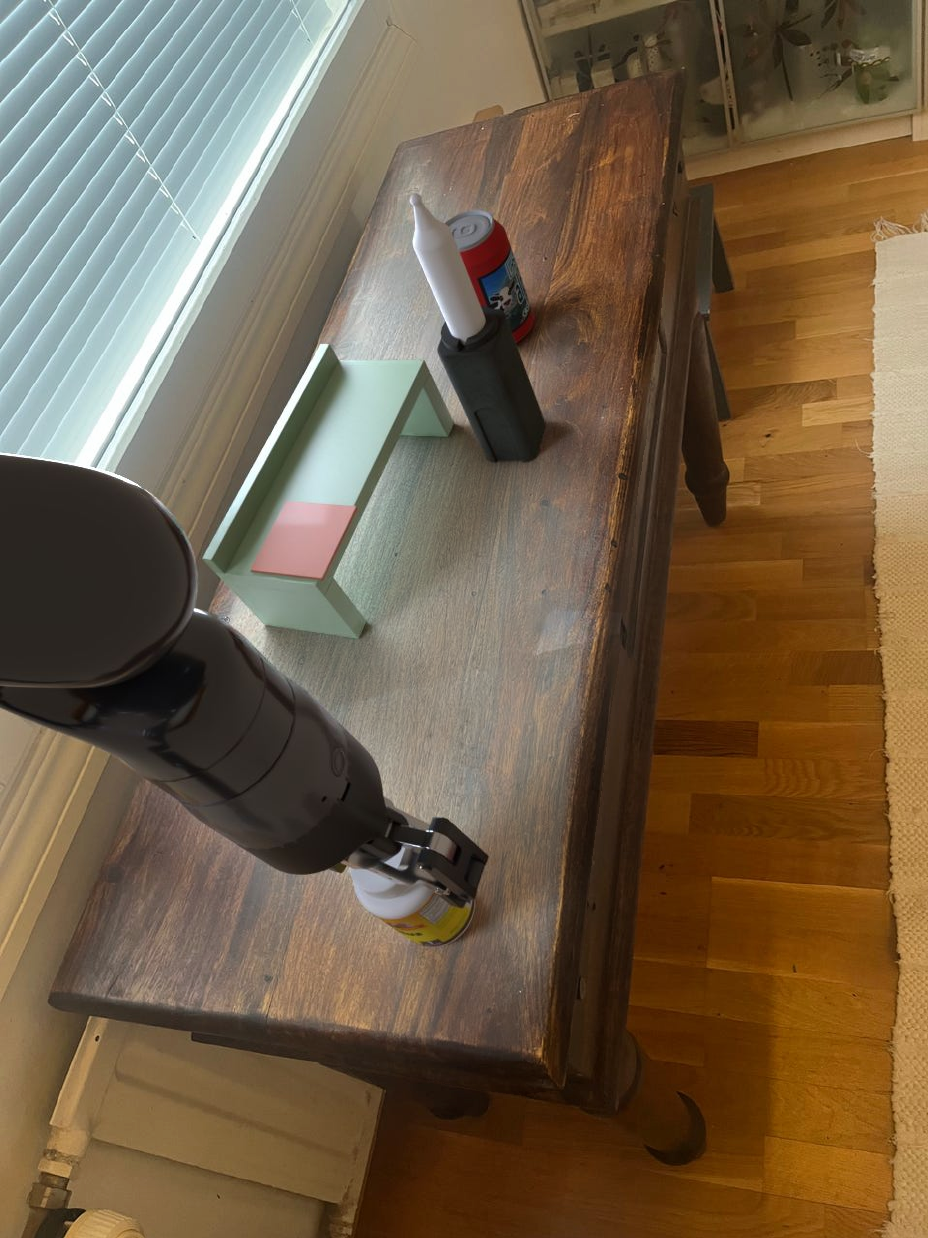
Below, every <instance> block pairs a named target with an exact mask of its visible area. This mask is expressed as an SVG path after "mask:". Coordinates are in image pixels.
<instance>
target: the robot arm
mask: <svg viewBox="0 0 928 1238" xmlns="http://www.w3.org/2000/svg"><path fill="white" fill-rule="evenodd" d="M196 560H197V559H196V556H195V553H194V549H193V547H192V544H191V542H190V539H189V537H188V535H187V533H186V532H185V529H184V528H183V527H182V525H181V524H180V522H179V521H178V519H177V518H176V517H175V516H174V514H173V513H172V512H171V510H169V508H168V507H167V506H166V505H165V504H164V503H163V502H162V501H160V499H159V498H157V497H156V496H154V494H152V493H151V492H149V491H148V490H147V489H145V488H143V487H142V486H140V485H139V484H137V483H135V482H133V481H132V480H129V479H127V478H126V477H123V476H121V475H117V474H115V473H113V472H109V471H106V470H102V469H99V468H95V467H91V466H86V465H82V464H77V463H71V462H64V461H60V460H54V459H53V460H52V459H46V458H40V457H33V456H27V455H19V454H11V453H2V452H0V709H1V710H4V711H6V712H8V713H11V714H13V715H15V716H18V717H20V718H23V719H25V720H28V721H30V722H32V723H35V724H37V725H39V726H42V727H44V728H47V729H49V730H52V731H54V732H57V733H59V734H63V735H66V736H68V737H71V738H73V739H75V740H78V741H80V742H83V743H86V744H88V745H90V746H92V747H93V748H96V749H98V750H101V751H103V752H105V753H107V754H109V755H111V756H112V757H114V758H115V759H116V760H118V761H119V762H120V763H121V764H122V765H124V766H125V767H127V768H128V769H130V770H131V771H132V772H133V773H135V774H137V775H138V776H140V777H142V778H143V779H145V780H146V781H148V782H150V783H151V784H152V785H154V786H156V787H157V788H158V789H160V790H162V791H163V792H165V793H167V794H168V795H170V797H173V798H174V799H175V800H177V802H178V803H180V804H181V805H182V806H183V807H184V809H186V810H187V811H188V813H190V814H191V815H192V816H193V817H194V818H196V819H197V820H198V821H199V822H201V823H202V824H203V825H205V826H207V827H208V828H210V829H211V830H212V831H214V832H216V833H217V834H219V835H221V836H222V837H223V838H225V839H227V840H229V841H230V842H231V843H233V844H235V845H237V846H238V847H240V848H241V849H243V850H244V851H245V852H248V853H249V854H251V855H252V856H254V857H255V858H257V859H259V860H261V861H262V862H263V863H264V864H266V865H268V866H270V867H271V868H273V869H275V870H276V871H279V872H282V873H285V874H288V875H295V876H307V875H314V874H318V873H322V872H325V871H327V870H330V871H331V872H334V873H338V874H343V873H344V872H345V870H346V869H347V867H348V868H349V867H351V868H353V869H366V870H368V871H371V872H373V873H375V874H377V875H379V876H381V877H383V878H386V879H388V880H390V881H392V882H394V883H396V884H399V885H413V884H415V883H418V884H421V885H423V886H425V887H427V888H429V889H431V890H433V891H434V893H436V894H437V895H439V896H440V897H441V898H442V899H444V900H445V901H446V902H447V903H448V904H450V905H451V906H455V907H458V908H463V907H464V906H465V904H466V902H468V903H470V902H471V900H475V901H476V897H477V894H478V888H479V885H480V882H481V879H482V876H483V874H484V870H485V867H486V866H487V863H488V860H489V858H490V856H489V855H488V853H486V852H485V851H484V850H483V849H482V848H481V847H480V846H479V845H477V843H476V842H474V840H472V839H471V838H470V837H468V836H467V834H466V833H464V832H463V831H462V830H461V829H460V828H459V827H458V826H457V825H456V824H455V823H453V821H451V820H450V819H449V818H446V817H443V816H440V817H438V816H433V817H432V818H431V821H430V824H429V823H427V822H426V821H424V820H421V819H419V818H417V817H416V816H414V815H412V814H410V813H408V812H406V811H403V810H401V809H399V808H398V807H396V806H395V804H394V802H393V801H392V800H391V799H389V798H388V797H386V796H384V789H383V782H382V777H381V772H380V771H379V766H378V764H377V762H376V761H375V759H374V757H373V755H372V754H371V753H370V752H369V751H368V749H366V747H365V746H364V745H363V744H362V743H361V742H359V740H358V739H357V738H356V737H354V736H353V735H352V733H350V732H349V730H348V729H347V728H346V727H345V726H344V725H343V724H341V722H340V721H339V720H338V719H337V718H336V717H334V716H333V714H332V713H330V711H328V710H327V708H326V707H324V705H323V704H322V703H320V701H318V700H317V699H316V697H314V696H313V694H311V693H310V692H309V691H308V690H307V689H305V688H304V687H303V686H301V685H300V684H299V683H297V682H296V681H294V680H292V679H291V678H290V677H288V676H286V675H285V674H283V672H281V671H280V670H279V669H278V668H277V667H276V666H275V665H274V664H272V662H271V661H270V660H269V659H268V658H267V657H266V656H264V654H262V652H261V651H260V650H258V648H256V646H255V645H253V644H252V642H251V641H250V640H249V639H248V638H247V637H246V636H245V635H244V634H242V633H241V632H240V631H239V630H238V629H236V628H235V627H234V626H233V625H231V624H230V623H229V622H227V621H225V620H224V619H222V618H221V617H219V616H218V615H217V614H214V613H212V612H209V611H206V610H203V609H200V608H196V604H197V600H198V593H199V574H198V573H199V572H198V564H197V561H196ZM402 847H404V848H405V851H404V853H403V856H402V859H401V862H400V864H399V866H398V868H394V867H392V866H390V865H388V864H386V863H384V862H386V861H388V860H389V859H391V858H392V857H394V856H395V855H397V854H398V853H399V852H400V851H401V849H402ZM423 871H426V872H428V873H429V874H430V875H429V874H427V873H425V872H423ZM431 875H432V876H431Z"/></svg>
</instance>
